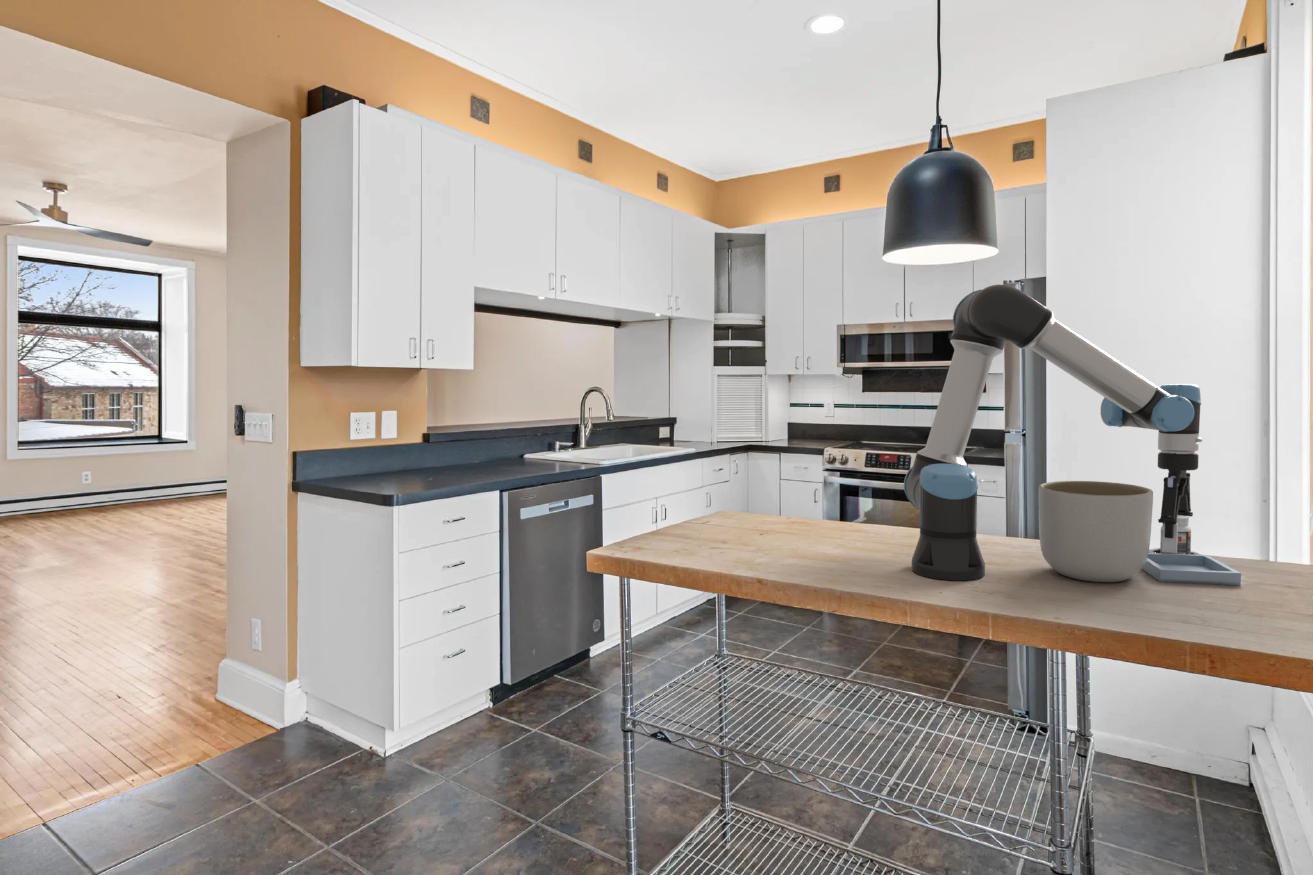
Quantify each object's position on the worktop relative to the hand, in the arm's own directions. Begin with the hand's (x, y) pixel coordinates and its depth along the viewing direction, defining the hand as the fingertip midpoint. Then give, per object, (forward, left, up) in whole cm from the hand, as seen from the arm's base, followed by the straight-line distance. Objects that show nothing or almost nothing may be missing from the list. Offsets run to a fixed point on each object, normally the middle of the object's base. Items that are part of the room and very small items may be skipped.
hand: (1174, 547), depth 166 cm
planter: (-22, -18, -3) cm, 28 cm away
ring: (0, 0, -3) cm, 3 cm away
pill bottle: (0, 0, -3) cm, 3 cm away
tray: (-3, -13, -3) cm, 14 cm away
